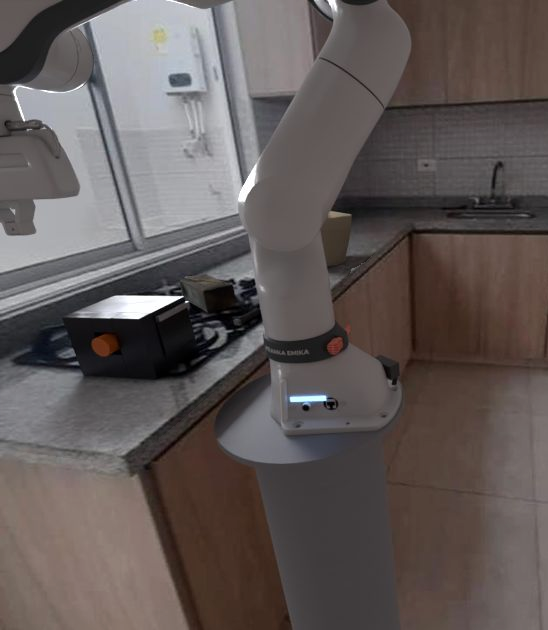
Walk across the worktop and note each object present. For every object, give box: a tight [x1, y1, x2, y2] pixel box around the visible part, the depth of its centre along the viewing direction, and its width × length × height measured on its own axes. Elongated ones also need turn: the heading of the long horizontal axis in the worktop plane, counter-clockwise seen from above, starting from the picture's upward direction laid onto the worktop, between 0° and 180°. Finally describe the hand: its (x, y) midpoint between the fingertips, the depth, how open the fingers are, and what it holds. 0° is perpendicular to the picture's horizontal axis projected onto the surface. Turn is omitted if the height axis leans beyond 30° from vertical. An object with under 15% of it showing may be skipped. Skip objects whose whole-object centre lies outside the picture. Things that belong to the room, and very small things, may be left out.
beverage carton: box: [179, 273, 237, 314], centre depth 119 cm, size 8×19×7 cm, turn 44°
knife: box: [232, 307, 262, 327], centre depth 111 cm, size 19×2×5 cm
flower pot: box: [320, 210, 353, 268], centre depth 152 cm, size 19×19×17 cm
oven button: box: [92, 333, 120, 356], centre depth 80 cm, size 4×3×4 cm
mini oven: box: [61, 295, 199, 380], centre depth 85 cm, size 17×12×12 cm
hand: (22, 234), depth 59 cm, fingers closed
